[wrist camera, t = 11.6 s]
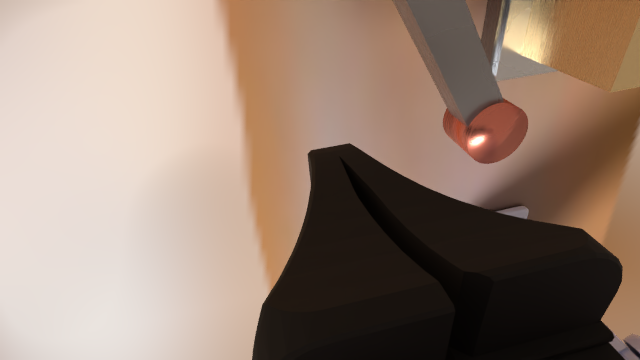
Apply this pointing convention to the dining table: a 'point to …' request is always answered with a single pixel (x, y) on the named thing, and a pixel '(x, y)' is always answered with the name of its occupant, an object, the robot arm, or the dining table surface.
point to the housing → (587, 40)
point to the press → (509, 40)
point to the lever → (464, 79)
